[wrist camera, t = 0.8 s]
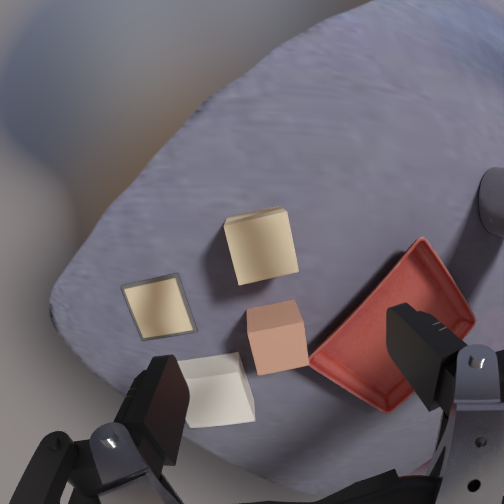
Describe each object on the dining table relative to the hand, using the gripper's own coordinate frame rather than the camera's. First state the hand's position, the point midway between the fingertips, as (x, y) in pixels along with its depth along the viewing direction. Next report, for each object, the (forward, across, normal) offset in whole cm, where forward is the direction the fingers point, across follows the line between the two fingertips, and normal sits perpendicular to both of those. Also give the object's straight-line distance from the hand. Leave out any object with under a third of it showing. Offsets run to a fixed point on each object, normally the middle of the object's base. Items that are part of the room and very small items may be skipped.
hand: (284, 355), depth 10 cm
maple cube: (+18, 0, -1) cm, 18 cm away
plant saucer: (+19, -14, +14) cm, 28 cm away
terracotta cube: (+18, 0, +9) cm, 20 cm away
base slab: (+18, +9, +15) cm, 26 cm away
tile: (+18, +12, +4) cm, 22 cm away
